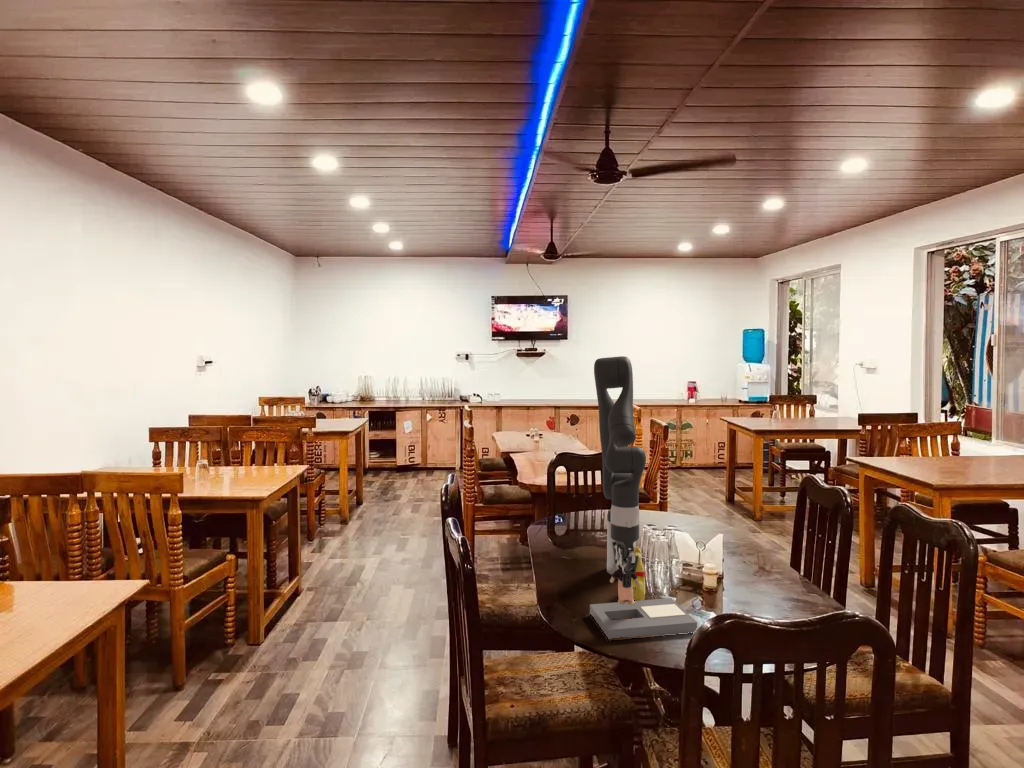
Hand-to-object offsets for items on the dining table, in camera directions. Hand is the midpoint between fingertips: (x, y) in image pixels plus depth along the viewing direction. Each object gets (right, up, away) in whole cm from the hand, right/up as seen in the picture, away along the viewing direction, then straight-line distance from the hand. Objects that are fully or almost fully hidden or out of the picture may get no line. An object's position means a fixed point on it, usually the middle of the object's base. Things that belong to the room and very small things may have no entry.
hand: (624, 584), depth 171 cm
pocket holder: (+5, -11, +1) cm, 12 cm away
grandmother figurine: (0, -5, 0) cm, 5 cm away
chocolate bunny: (+6, -10, +21) cm, 24 cm away
